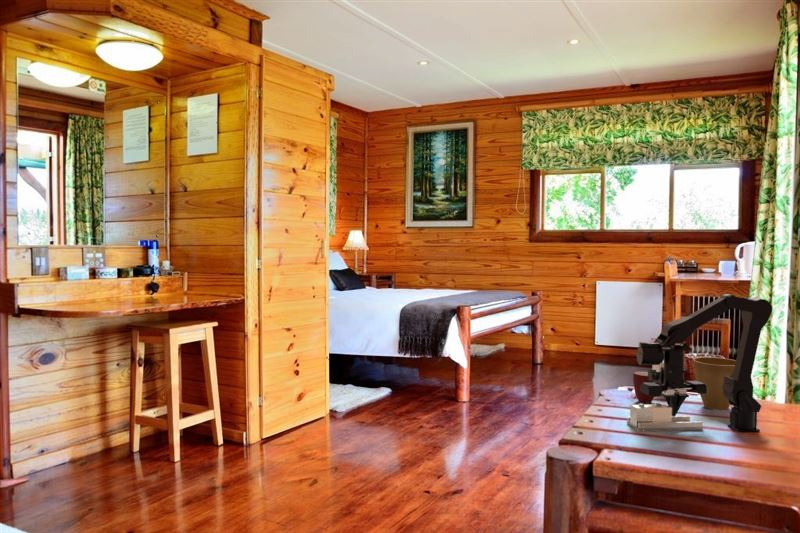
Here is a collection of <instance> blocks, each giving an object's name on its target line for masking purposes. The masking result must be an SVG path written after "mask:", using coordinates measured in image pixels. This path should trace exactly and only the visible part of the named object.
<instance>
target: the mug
mask: <svg viewBox="0 0 800 533" xmlns="http://www.w3.org/2000/svg"><path fill="white" fill-rule="evenodd" d="M632 374H633V376H632V381H633V388H634V395H635V396H636V398H637V401H638V402H639V403H640V404H651V403H652V402H653V400H654V398H659V397H660V398H661V397H663V395H657V396H650V395H647V394H645V393H643V392H640V386H641V384H642V383H647V382H653V383H654V380H652V381H649V379H648V371H641V370H640V371H634V372H633V373H632ZM658 385H663V384H660V383H658Z"/></svg>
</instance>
